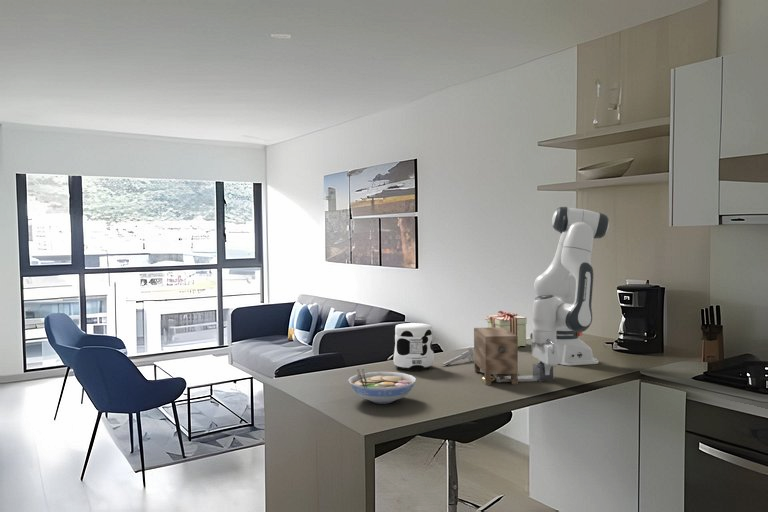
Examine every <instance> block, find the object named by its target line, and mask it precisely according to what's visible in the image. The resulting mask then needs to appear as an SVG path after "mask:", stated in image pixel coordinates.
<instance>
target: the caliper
mask: <svg viewBox="0 0 768 512" xmlns="http://www.w3.org/2000/svg"><path fill="white" fill-rule="evenodd" d="M467 349H468V350H466V351H463V352H462V353H460V354H459V355H458V356H454V357H453V358H451V359H449V360H448V361H444V362H443V363H442V364H441V365H446V364H450V365H452V364H454V363H456V362H459V361H461V360H466V359H467V360H468V359H469V360H471V359H474V348H473V347H468V348H467ZM469 360H468V361H469ZM471 361H472V360H471ZM451 363H452V364H451Z"/></svg>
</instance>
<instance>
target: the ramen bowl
mask: <svg viewBox="0 0 768 512" xmlns="http://www.w3.org/2000/svg"><path fill="white" fill-rule="evenodd" d="M356 372H357V374H355V375H353V376H351V377H349V379H347V381H348V383H349V385H350V386H351V388H352V390H353V391H354V392H355V393H356V394H357V396H359V397H360V398H362V399H365V400H367V401H370V402H371V403H374V404H377V405H378V404H379V405H381V404H383V405H385V404H391V403H393V402H394V401H397V400H401V399H402V398H404V397H406V396H407V395H408V394H409V393H410V392H411V390H412V389H413V388H414V385H415V383H416V381H417V378H416V377H415V376H413V375H412V374H411V375H410V374H407V373H403V372H397V371H396V372H395V371H394V372H393V371H372V372H365V369H364V368H363V369H361V371H360V369H359V368H358V369H356ZM361 372H362V373H361Z"/></svg>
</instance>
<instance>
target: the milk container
mask: <svg viewBox="0 0 768 512" xmlns="http://www.w3.org/2000/svg"><path fill="white" fill-rule="evenodd" d="M394 331H395V332H394V333H395V334H394V343H395V344H394V349H393V354H392V360H393V364H394V367H396V368H399V369H402V370H406V371H420V370H427V369H430V368H431V367H432V366H433V365H434V362H435V352H434V348H433V335H432V333H433V329H432V325H431V324H428V323H421V322H420V323H418V322H411V323H409V322H407V323H400V324H399V323H398V324H396V325H395V328H394Z"/></svg>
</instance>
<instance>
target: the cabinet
mask: <svg viewBox="0 0 768 512" xmlns="http://www.w3.org/2000/svg"><path fill="white" fill-rule="evenodd" d="M518 348H519V347H518V336H517V335H515V334H513V333H512V332H510V331H508V330H507V329H505V328H503V327H494V328H488V327H473V352H474V360H473V372H474V371H475V372H480V373H481V371H482V372H483V373H484V376H485V382H484V385H486V386H491V385H492V382H491V376H492V375H493V374H497V375H509V374H510V376H511V382H510V384H511V385H518V384H519V381H518V376H519V373H518V371H519V369H518V366H519V361H518V359H519V357H518V350H519V349H518ZM475 372H474V373H475Z"/></svg>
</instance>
